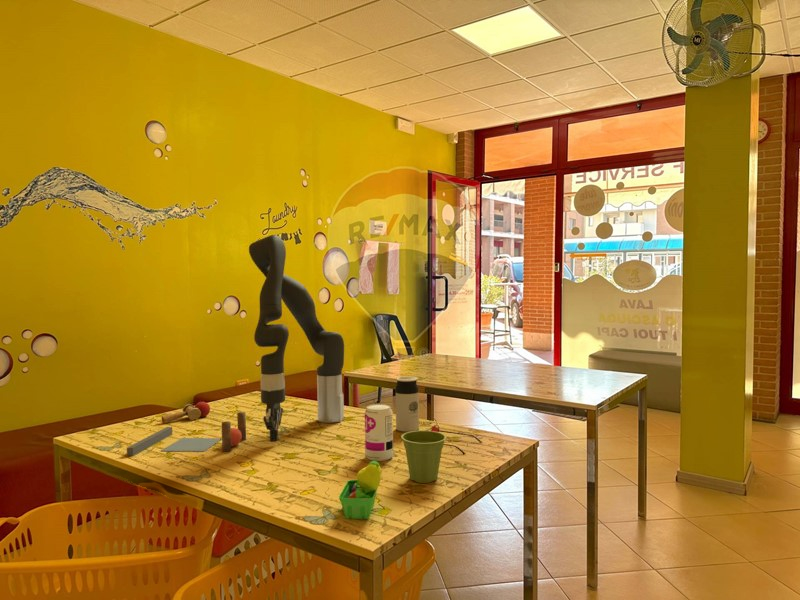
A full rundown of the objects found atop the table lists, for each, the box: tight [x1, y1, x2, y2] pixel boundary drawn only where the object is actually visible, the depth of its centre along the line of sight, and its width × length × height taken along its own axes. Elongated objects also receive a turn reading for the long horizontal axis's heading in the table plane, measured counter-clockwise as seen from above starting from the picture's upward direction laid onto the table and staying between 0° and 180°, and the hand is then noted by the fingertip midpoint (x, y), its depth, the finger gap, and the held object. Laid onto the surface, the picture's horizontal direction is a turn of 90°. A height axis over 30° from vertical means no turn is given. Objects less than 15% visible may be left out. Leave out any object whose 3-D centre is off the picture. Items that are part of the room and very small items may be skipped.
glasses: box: [425, 425, 482, 455], centre depth 175 cm, size 14×16×5 cm
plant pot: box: [400, 429, 447, 484], centre depth 146 cm, size 12×12×11 cm
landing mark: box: [160, 437, 222, 453], centre depth 180 cm, size 14×14×1 cm
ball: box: [231, 427, 242, 447], centre depth 178 cm, size 6×6×6 cm
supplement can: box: [364, 403, 394, 462], centre depth 164 cm, size 8×8×15 cm
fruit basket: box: [338, 460, 382, 520], centre depth 126 cm, size 11×9×11 cm
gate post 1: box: [221, 421, 232, 453], centre depth 172 cm, size 3×3×9 cm
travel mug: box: [395, 375, 420, 433], centre depth 194 cm, size 8×8×18 cm
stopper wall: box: [126, 426, 173, 457], centre depth 181 cm, size 2×24×2 cm, turn 175°
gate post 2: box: [236, 411, 247, 442], centre depth 185 cm, size 3×3×9 cm
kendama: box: [160, 401, 211, 425], centre depth 213 cm, size 8×6×18 cm
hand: (274, 441), depth 177 cm, fingers closed
